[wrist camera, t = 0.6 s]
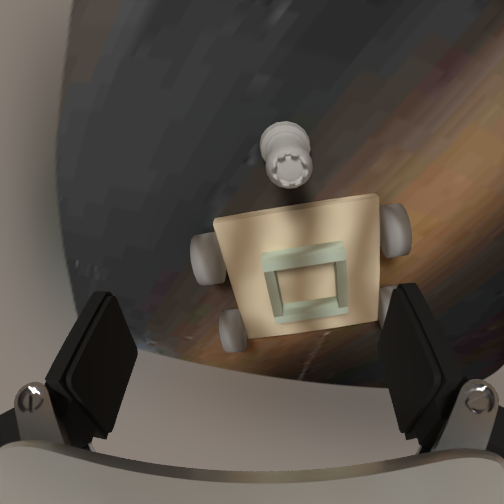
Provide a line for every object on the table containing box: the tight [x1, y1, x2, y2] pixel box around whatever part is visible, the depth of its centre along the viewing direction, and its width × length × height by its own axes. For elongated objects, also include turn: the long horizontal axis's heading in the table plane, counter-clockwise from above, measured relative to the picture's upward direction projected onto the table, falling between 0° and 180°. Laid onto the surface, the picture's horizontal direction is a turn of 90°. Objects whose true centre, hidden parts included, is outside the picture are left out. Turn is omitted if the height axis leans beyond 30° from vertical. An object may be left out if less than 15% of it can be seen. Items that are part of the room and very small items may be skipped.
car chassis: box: [190, 193, 412, 353], centre depth 32 cm, size 20×16×5 cm
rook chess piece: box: [260, 121, 313, 189], centre depth 24 cm, size 4×4×8 cm
